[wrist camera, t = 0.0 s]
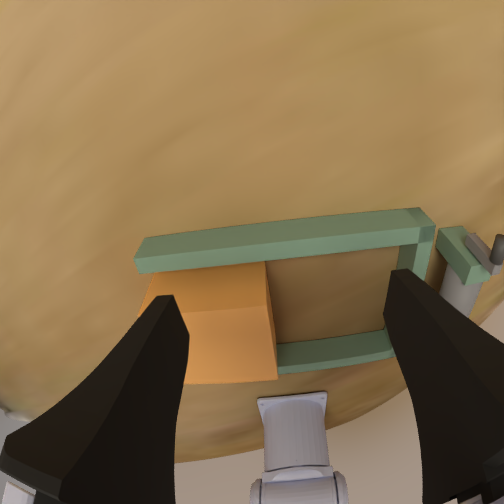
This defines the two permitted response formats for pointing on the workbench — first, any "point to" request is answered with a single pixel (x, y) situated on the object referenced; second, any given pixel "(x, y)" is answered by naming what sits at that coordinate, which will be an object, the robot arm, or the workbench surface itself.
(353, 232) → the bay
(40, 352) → the workbench surface
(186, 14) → the workbench surface
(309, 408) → the robot arm
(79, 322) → the workbench surface
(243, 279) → the orange square block
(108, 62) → the workbench surface
